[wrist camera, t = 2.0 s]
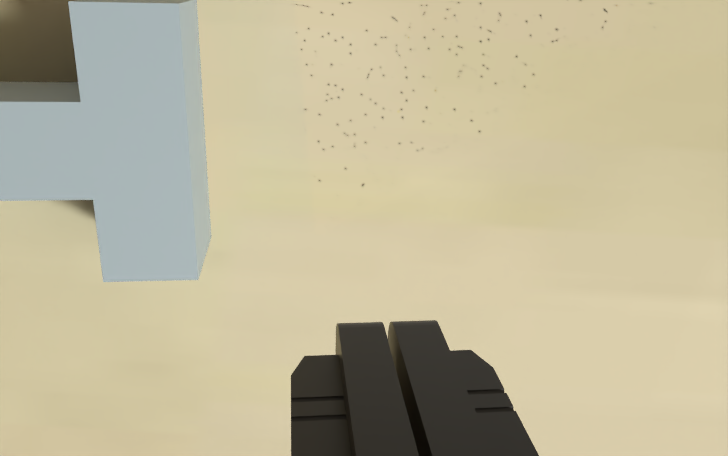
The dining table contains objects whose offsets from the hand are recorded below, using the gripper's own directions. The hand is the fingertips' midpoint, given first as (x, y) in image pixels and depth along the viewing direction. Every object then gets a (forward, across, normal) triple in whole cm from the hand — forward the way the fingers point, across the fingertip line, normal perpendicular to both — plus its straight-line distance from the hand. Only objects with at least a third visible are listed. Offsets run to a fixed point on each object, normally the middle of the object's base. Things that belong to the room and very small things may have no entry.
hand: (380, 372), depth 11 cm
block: (+19, +5, 0) cm, 20 cm away
